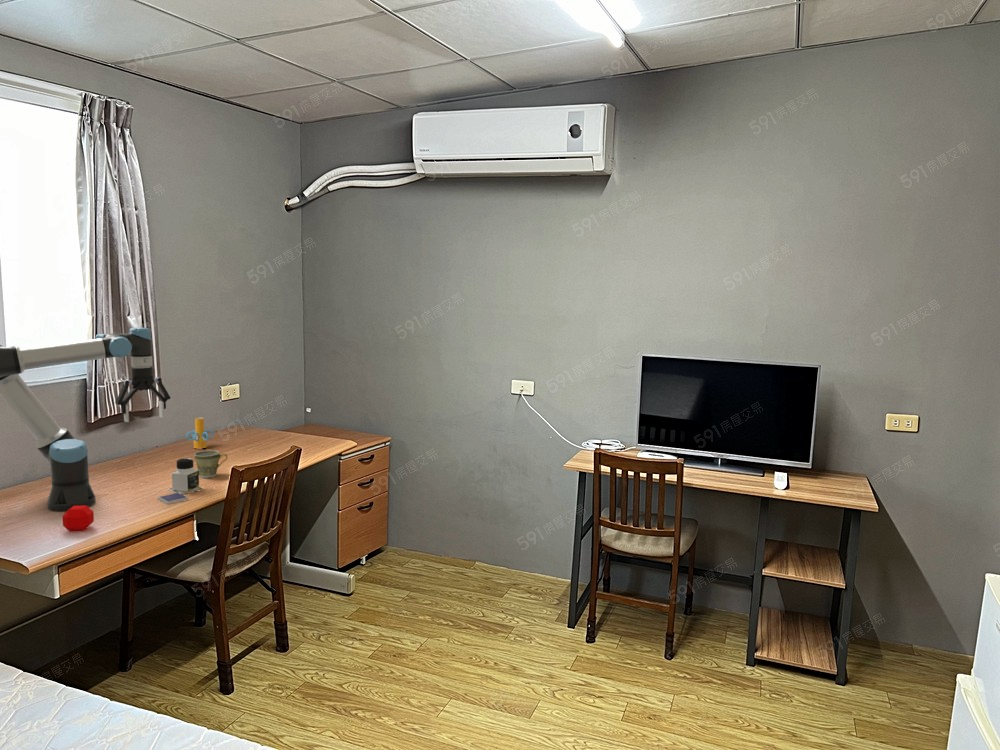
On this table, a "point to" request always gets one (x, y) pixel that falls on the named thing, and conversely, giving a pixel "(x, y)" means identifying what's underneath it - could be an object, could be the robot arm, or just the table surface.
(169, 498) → the ink pad
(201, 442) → the cylinder
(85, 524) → the ball
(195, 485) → the medicine bottle
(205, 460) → the ceramic cup
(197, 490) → the print card
